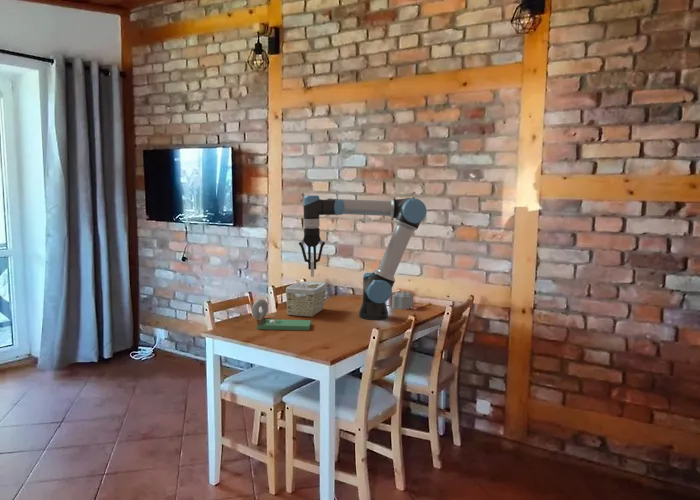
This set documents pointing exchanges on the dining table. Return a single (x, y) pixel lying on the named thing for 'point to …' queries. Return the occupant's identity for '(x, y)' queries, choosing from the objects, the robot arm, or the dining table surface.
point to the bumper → (260, 319)
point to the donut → (256, 308)
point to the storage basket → (305, 298)
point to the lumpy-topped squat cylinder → (402, 300)
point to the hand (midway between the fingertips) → (312, 276)
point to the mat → (285, 324)
